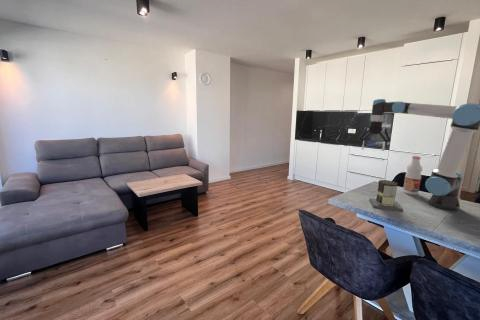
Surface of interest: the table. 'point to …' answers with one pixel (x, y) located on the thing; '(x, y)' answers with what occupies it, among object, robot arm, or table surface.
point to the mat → (395, 207)
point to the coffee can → (386, 192)
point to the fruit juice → (413, 177)
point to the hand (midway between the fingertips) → (372, 150)
